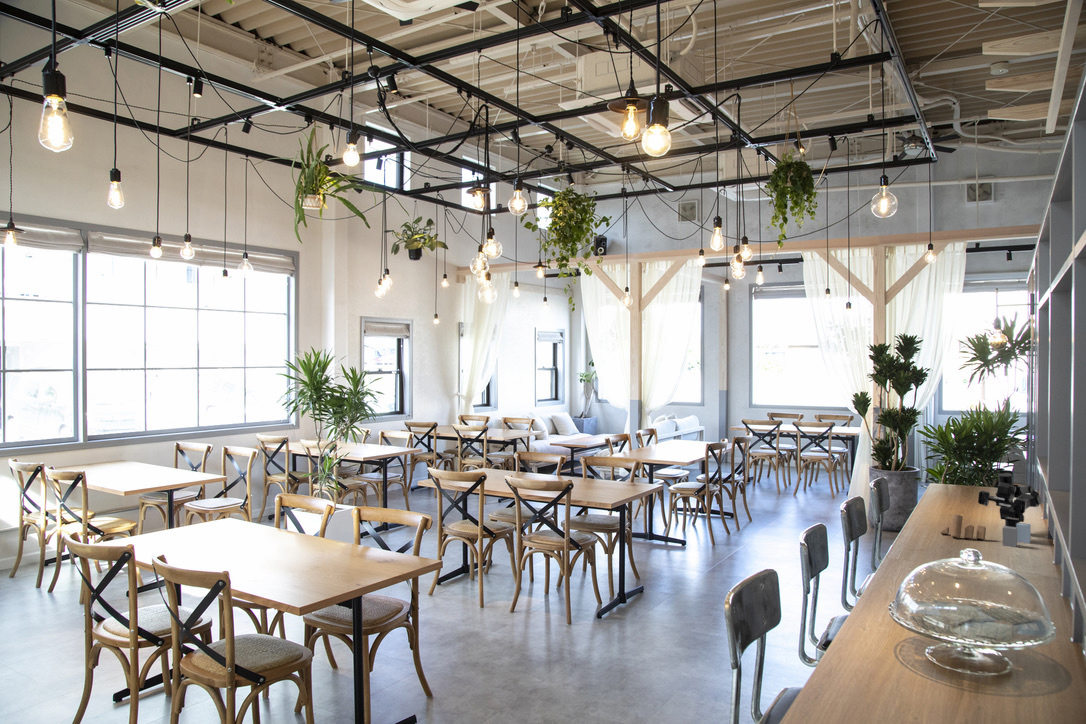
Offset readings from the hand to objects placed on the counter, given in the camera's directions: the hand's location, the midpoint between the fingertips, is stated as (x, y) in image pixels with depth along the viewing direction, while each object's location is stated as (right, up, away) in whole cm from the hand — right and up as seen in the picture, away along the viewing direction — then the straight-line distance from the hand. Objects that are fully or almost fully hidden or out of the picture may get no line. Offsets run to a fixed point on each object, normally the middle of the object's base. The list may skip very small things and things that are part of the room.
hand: (997, 507), depth 330 cm
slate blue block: (+11, -16, -1) cm, 19 cm away
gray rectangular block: (0, -15, -9) cm, 18 cm away
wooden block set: (-13, -16, +5) cm, 21 cm away
